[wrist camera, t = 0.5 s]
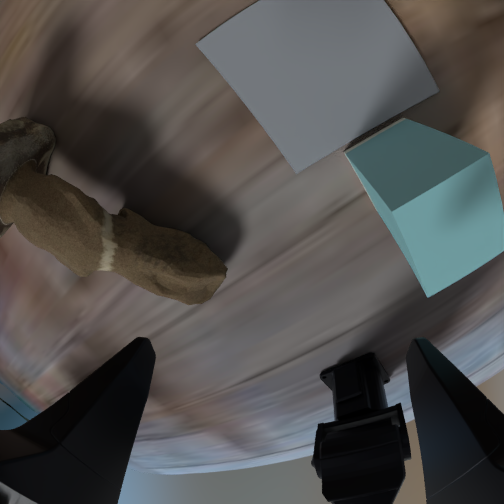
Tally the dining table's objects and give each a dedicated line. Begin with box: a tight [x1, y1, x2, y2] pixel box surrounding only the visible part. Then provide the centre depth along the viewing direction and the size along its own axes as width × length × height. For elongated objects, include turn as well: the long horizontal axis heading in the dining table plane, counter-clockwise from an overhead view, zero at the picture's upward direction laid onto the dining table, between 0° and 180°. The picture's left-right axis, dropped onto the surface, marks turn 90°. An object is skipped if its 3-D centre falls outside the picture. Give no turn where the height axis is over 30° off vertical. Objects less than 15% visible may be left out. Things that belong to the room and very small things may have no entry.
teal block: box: [344, 118, 504, 298], centre depth 14 cm, size 5×5×10 cm
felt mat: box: [195, 0, 439, 174], centre depth 15 cm, size 11×12×1 cm
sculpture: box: [0, 117, 228, 305], centre depth 20 cm, size 8×22×15 cm
